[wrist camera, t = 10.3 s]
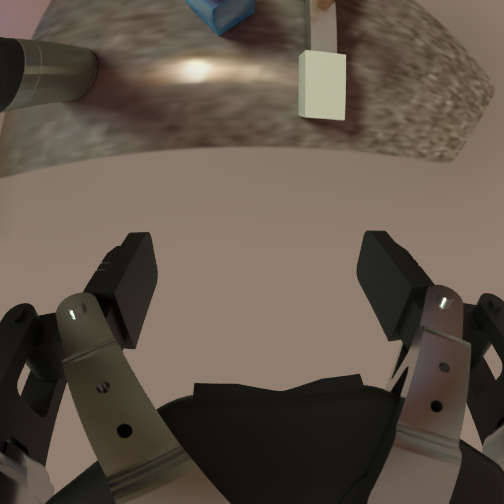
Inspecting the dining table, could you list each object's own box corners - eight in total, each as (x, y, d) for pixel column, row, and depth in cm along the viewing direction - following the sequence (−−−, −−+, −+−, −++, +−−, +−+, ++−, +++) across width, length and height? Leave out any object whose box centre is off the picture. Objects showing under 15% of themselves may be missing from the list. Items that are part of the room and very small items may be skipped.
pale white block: (298, 115, 37) (304, 117, 33) (298, 56, 33) (305, 50, 28) (333, 117, 37) (344, 120, 32) (334, 59, 33) (345, 54, 28)
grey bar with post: (306, 75, 33) (331, 64, 22) (303, -20, 25) (324, -61, 14) (330, 77, 33) (365, 69, 22) (327, -17, 25) (356, -55, 14)
